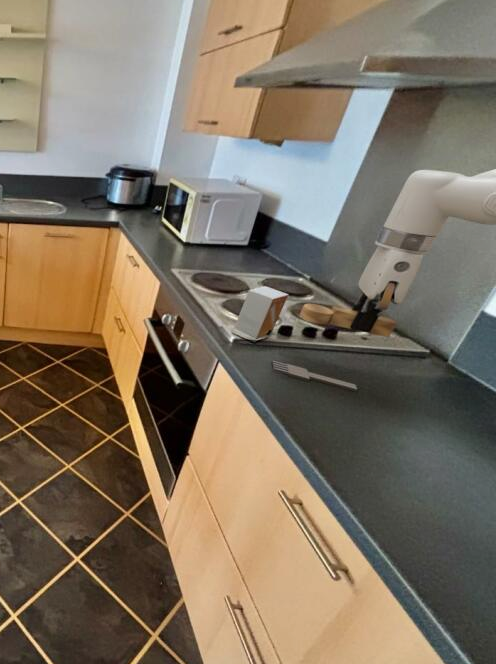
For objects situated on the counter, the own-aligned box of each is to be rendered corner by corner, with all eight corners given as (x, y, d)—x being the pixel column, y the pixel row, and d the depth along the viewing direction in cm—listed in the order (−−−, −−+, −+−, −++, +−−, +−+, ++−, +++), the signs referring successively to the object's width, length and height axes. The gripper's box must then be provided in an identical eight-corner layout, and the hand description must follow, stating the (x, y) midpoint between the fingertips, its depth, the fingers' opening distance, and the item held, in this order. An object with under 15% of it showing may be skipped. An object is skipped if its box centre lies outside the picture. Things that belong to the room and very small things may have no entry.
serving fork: (352, 384, 94) (354, 381, 94) (357, 395, 90) (359, 392, 90) (271, 362, 100) (272, 359, 100) (272, 371, 97) (274, 368, 96)
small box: (254, 344, 109) (273, 298, 103) (231, 333, 113) (248, 289, 107) (270, 338, 113) (289, 294, 107) (247, 327, 117) (264, 285, 111)
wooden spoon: (383, 330, 86) (390, 316, 84) (390, 340, 82) (399, 325, 80) (297, 311, 92) (304, 298, 90) (301, 319, 88) (307, 306, 86)
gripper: (449, 255, 69) (392, 349, 78) (414, 235, 82) (369, 317, 91) (392, 246, 72) (343, 337, 81) (367, 228, 85) (327, 309, 94)
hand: (357, 326), depth 85 cm, fingers closed on wooden spoon, 2 cm apart
